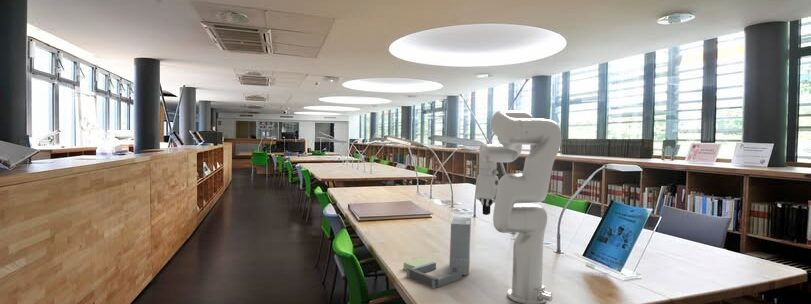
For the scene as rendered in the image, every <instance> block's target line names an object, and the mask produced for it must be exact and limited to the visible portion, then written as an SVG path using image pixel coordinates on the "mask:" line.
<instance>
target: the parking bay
mask: <svg viewBox="0 0 811 304" xmlns="http://www.w3.org/2000/svg"><path fill="white" fill-rule="evenodd" d="M436 264H437V262H435V261H432V262H431V263H428V264H424V265H421V266H418V267H414V268H407V270H406V277H407V278H411V279H412V280H415V281H418V282H420V283H422V284H424V285H426V286H428V287H431V288H434V289H437V288H440V287H443V286H444V285H448V284H451V283H452V282H453V283H454V282H455V281H458V280H462V276H463V275H462V272H460V271H457V272H454V273H451V274H449V273H448V274H446V275H442V276H440V277H435V276H432V275H429V274H427V272H431V271H434V270H436V269H437V265H436Z"/></svg>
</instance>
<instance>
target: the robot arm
mask: <svg viewBox="0 0 811 304" xmlns="http://www.w3.org/2000/svg"><path fill="white" fill-rule="evenodd" d="M490 128H491V130H492V132H493V134H494V135H495V136H496V137H497V141H498V142H499V143H482V144H480V145H479V149H478V151H479V153H478V174H477V177H476V183H475V199H476V200H478V201H479V202H480V204H481V206H482V215H485V216H487V215H488V216H489V215H491V207H492V205H493V204H494V205H493V206H494V207H493V212H492V213H493V215H492V219H493V220H492V221H493V222H492V223H493V227H494V228H495V230H496V231H497V232H499V233H503V234H517V235H516V237H515V239H514V241H513V247H512V248H513V249H512V276H511V277H512V278H511V279H512V284H511V287H510V288H508V289H507V291H506V295H507V297H508V298H509V299H510V300H512V301H514V302H517V303H519V304H544V303H545V302H550V303H551V302H552V301H553V293H552V292H549V291H546V289H545V288H546V286H545V285H543V265H544V264H543V262H544V261H543V259H544V256H543V255H544V239H545V238H544V237H545V233H546V228H547V224H548V213H547V210H545V208H544V207H543V206H541V205H540V204H537V203H542V202H544V201H545V199H546V198H547V195H548V192H549V188H550V184H551V183H550V181H551V176H552V170H553V167H554V163H555V160H556V157H557V156H558V153H559V151H560V147H561V143H562V130H561V128H560V126H559V124H558V123H557V122H556V121H554V120H551V119H546V118H534V117H533V115H532V114H530V113H529V112H528V111H524V110H504V109H503V110H498V111H496V112H494V114H493V115H492V118H491V119H490ZM523 145H524V146H528V145H529V146H531V145H532V146H533V145H534V146H535V145H536V147H534V148H533V149H532V150H531V151H530V152H529V153H528V155H527V156H526V158H525V159H524V165H523V170H522V172H521V173H506V174H504V175H503V176H501V177H500V179H499V176H497V175H498V174H499V171H498V170H497V163H512V162H514V161H515V160H517V159H518V158H519V156H520V155H521V153H522V150H523Z"/></svg>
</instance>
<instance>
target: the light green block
mask: <svg viewBox="0 0 811 304" xmlns="http://www.w3.org/2000/svg"><path fill="white" fill-rule="evenodd" d="M431 262H433V261H432V260H430V259H427V258H425V257H419V258H414V259H411V260H407V261H404V262H403V270H405V271H407V268H414V267H418V266H421V265H424V264H428V263H431Z"/></svg>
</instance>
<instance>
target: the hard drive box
mask: <svg viewBox="0 0 811 304" xmlns="http://www.w3.org/2000/svg"><path fill="white" fill-rule="evenodd" d="M471 229H472V217H466V216H453V218H452V220H451V223H450V237H449V239H450V242H449V264H448V265H449V268H448V270H449V271H448V274H451V273H454V272H457V271H460V272H462V276H469V272H470V264H471V237H472V236H471V235H472V234H471V232H472V230H471Z"/></svg>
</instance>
